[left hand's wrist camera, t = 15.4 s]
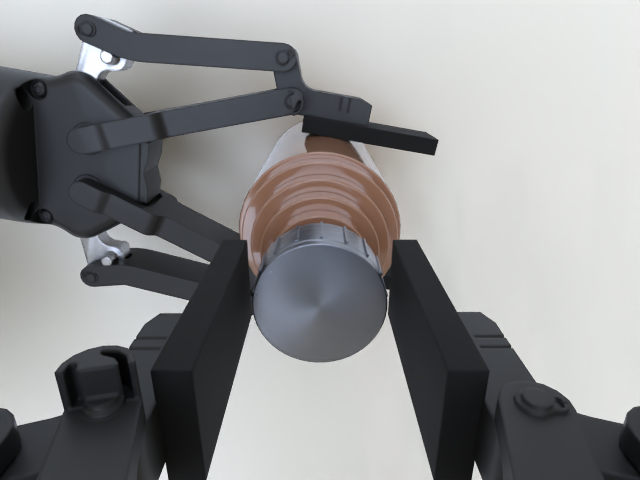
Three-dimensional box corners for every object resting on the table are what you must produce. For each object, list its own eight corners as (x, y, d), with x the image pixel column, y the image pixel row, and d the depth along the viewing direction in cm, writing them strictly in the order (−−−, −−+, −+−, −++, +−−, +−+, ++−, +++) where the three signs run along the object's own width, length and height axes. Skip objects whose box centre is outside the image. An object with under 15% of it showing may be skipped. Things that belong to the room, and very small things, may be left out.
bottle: (343, 231, 31) (370, 415, 15) (255, 194, 30) (177, 346, 14) (387, 144, 29) (475, 245, 13) (293, 100, 28) (254, 148, 12)
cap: (399, 241, 14) (410, 265, 12) (357, 343, 15) (362, 377, 14) (277, 205, 14) (271, 224, 12) (245, 313, 15) (236, 345, 13)
